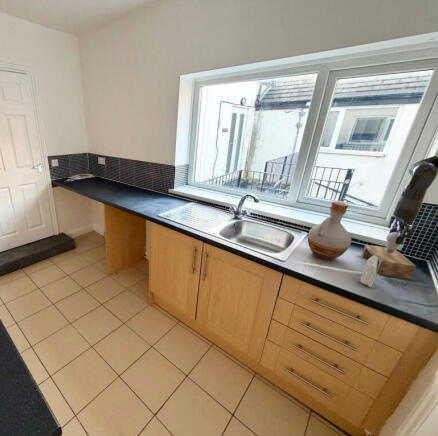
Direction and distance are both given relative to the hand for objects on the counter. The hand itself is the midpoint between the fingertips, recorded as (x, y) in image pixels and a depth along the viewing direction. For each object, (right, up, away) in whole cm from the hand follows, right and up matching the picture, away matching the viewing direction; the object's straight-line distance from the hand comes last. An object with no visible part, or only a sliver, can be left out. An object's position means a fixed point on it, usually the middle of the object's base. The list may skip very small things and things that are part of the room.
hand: (394, 240), depth 115 cm
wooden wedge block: (0, -13, +5) cm, 14 cm away
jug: (-25, -10, +13) cm, 30 cm away
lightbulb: (0, -6, +2) cm, 7 cm away
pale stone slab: (-19, -17, -6) cm, 26 cm away
